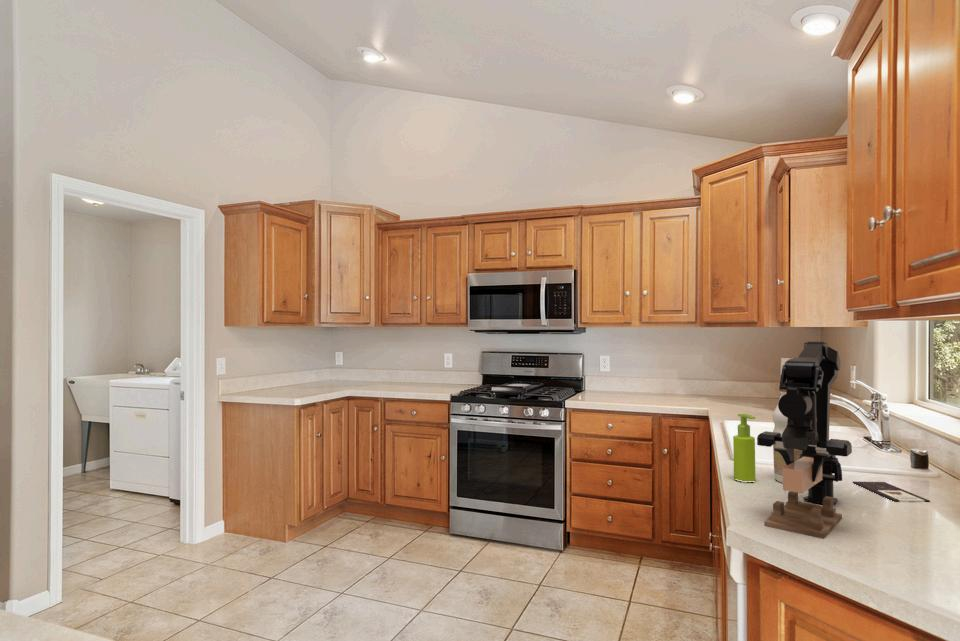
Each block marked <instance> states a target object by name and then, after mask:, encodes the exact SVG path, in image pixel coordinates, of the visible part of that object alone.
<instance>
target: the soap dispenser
mask: <svg viewBox="0 0 960 641" xmlns="http://www.w3.org/2000/svg"><path fill="white" fill-rule="evenodd" d="M737 416H738V417H740V423H739V424H737V434H736V435H733V438H732V439H733V440H732V442H733V444H732V445H733V446H732V447H733V479H734V478H735V479H738V480H742V481H755V482H756V439H755V438H756V437H754V436H751V425H749V424H748V419H749V420H753V419H756V416H754V415H752V414H748V413H738V414H737Z"/></svg>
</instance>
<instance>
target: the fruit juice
mask: <svg viewBox="0 0 960 641" xmlns="http://www.w3.org/2000/svg"><path fill="white" fill-rule="evenodd" d="M778 391H779V393H780V397H779V399H778V401H779V400H780V398H781V397H782V396H783V395H785V394H786V393H787V390H782V389H779V390H778ZM787 421H788V418H787V417H785V416H784V415H783V414H782V413H781V412H780V410H779V408H778V403H777V405H776V407H775V409H774V410H773V412H772V422H773V424H774V429H773V430H772V432H776V433H780V434H781V437H782V433H783V432H784V430H785V428H786V426H787ZM774 448H775V444H774V445H772V449H773V455H772V456H773V476H774V480H775V479H776V480H777V481H776V480H775V481H776V482H778V481H779V482H778V483H781V482H782V484H783V468H784V467H785V466H787V465H786V463H785V461H784V459H783V457H782V455H781V454H780V453H779V452H778V451H774ZM801 453H802V451H801V450H798V449H794V462H795V461H796V460H798V459H799V458H800V454H801Z"/></svg>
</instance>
